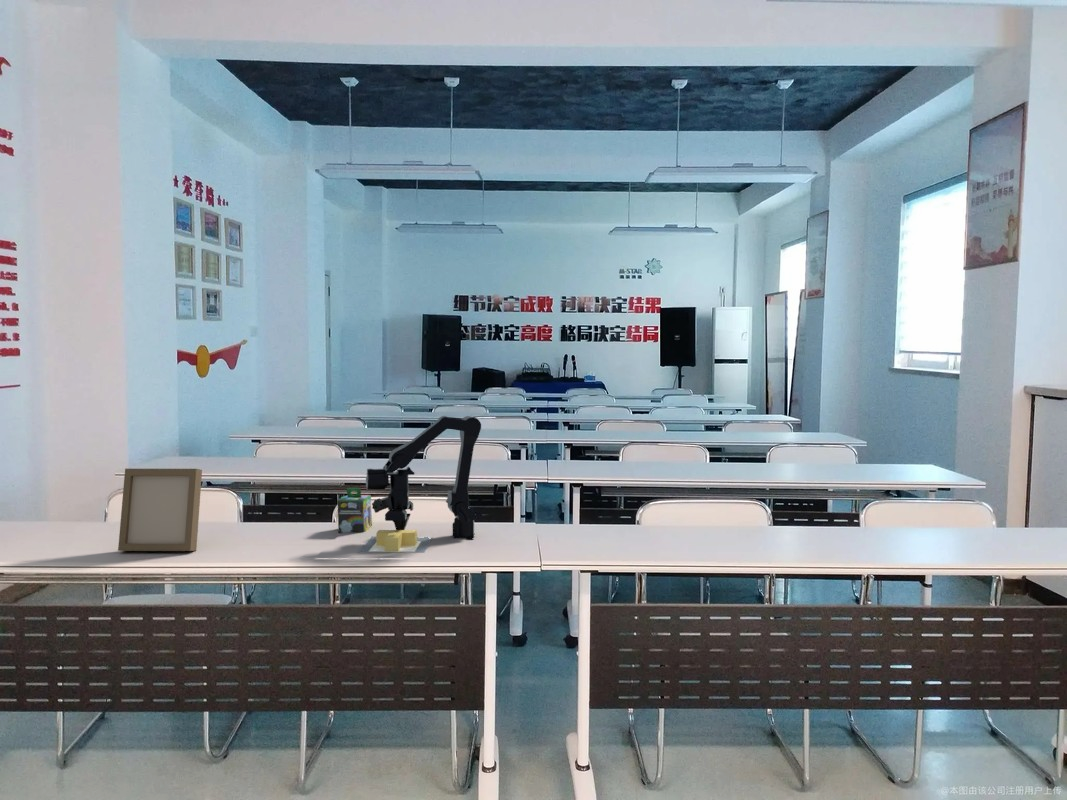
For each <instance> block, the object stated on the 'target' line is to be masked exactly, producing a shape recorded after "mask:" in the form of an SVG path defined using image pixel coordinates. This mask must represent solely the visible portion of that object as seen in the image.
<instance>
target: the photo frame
mask: <svg viewBox="0 0 1067 800" xmlns="http://www.w3.org/2000/svg"><path fill="white" fill-rule="evenodd" d="M202 474H203V470H202V469H200V468H124V476H123V477H124V478H123V490H122V499H121V500H122V503H121V513H120V522H119V523H120V525H119V535H118V545H117V546H118V547H117V548H118V549H117V552H133V551H134V552H186V551H187V552H195V550H196V551H197V549H198V548H197V547H198V545H197V544H198V532H199V521H200V520H199V519H200V517H199V516H200V507H201V506H200V503H201V491H202V477H203V476H202Z"/></svg>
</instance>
